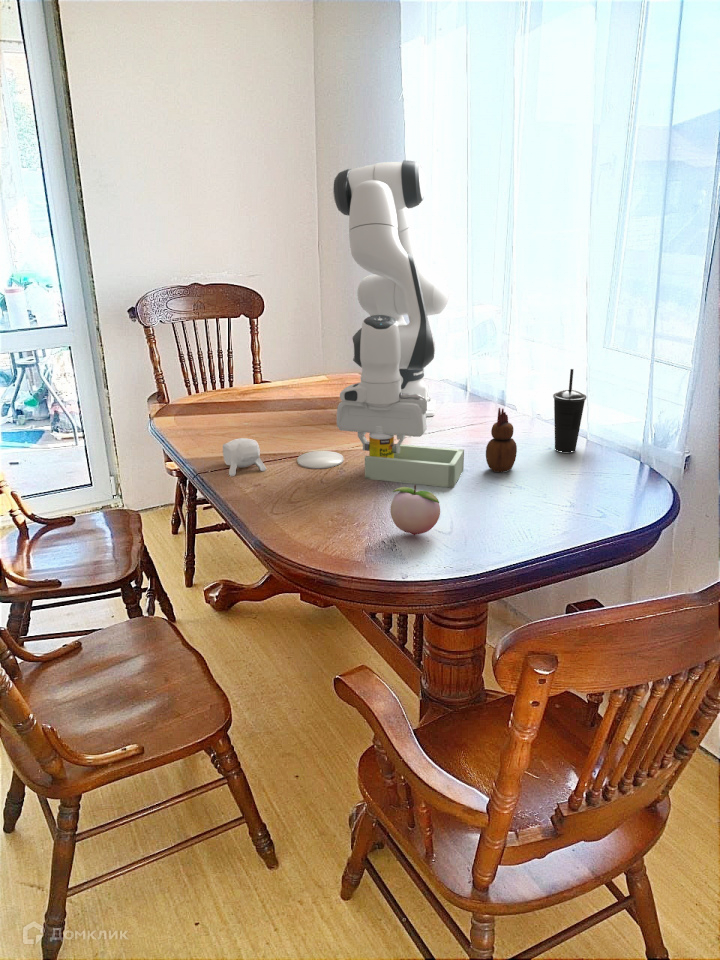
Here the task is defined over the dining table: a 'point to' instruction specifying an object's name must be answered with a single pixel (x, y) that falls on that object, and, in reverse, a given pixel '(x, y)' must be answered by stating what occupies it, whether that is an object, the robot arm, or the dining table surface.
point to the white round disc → (320, 459)
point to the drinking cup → (567, 417)
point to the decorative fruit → (414, 510)
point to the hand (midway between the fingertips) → (381, 451)
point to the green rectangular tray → (418, 466)
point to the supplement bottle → (381, 444)
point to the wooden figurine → (501, 445)
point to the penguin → (242, 454)
